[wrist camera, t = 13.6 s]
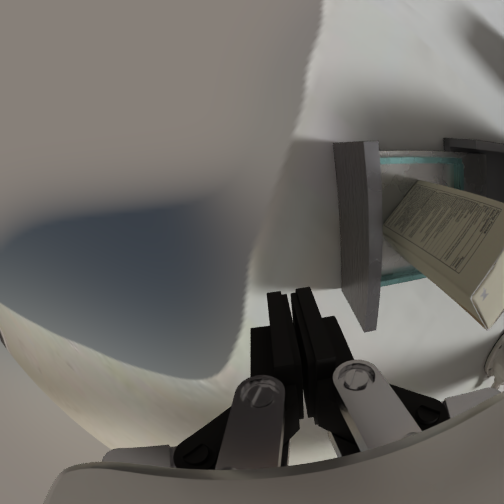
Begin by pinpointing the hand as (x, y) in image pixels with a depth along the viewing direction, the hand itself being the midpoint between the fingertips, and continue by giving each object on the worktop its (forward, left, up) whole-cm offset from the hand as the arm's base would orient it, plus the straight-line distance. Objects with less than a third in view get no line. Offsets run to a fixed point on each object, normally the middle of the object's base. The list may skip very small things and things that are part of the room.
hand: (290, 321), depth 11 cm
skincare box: (0, -13, -12) cm, 17 cm away
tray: (0, -15, -14) cm, 20 cm away
